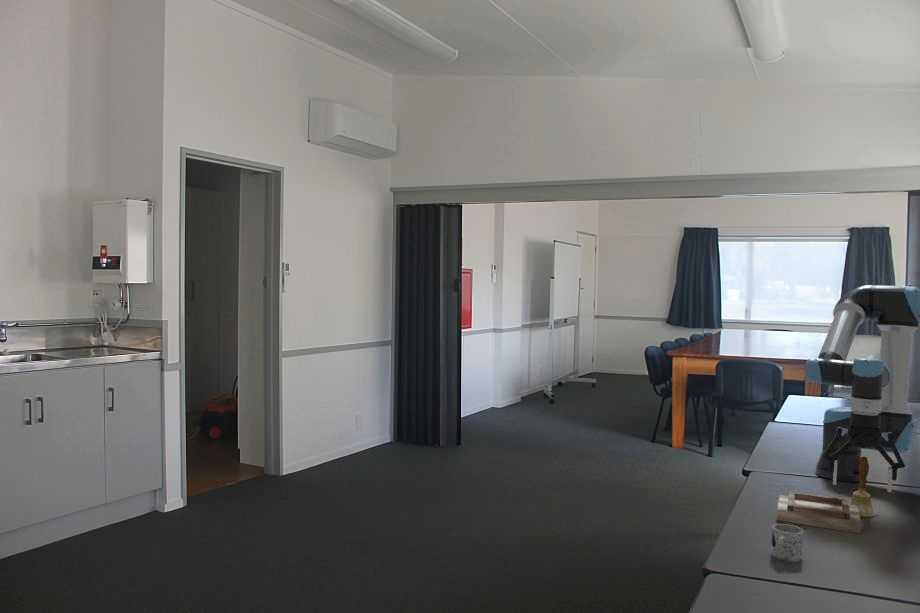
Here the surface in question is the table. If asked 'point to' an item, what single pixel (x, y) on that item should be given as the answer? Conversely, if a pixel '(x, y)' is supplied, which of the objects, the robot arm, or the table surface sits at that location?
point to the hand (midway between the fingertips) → (861, 487)
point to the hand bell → (863, 492)
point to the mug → (787, 542)
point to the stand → (819, 511)
